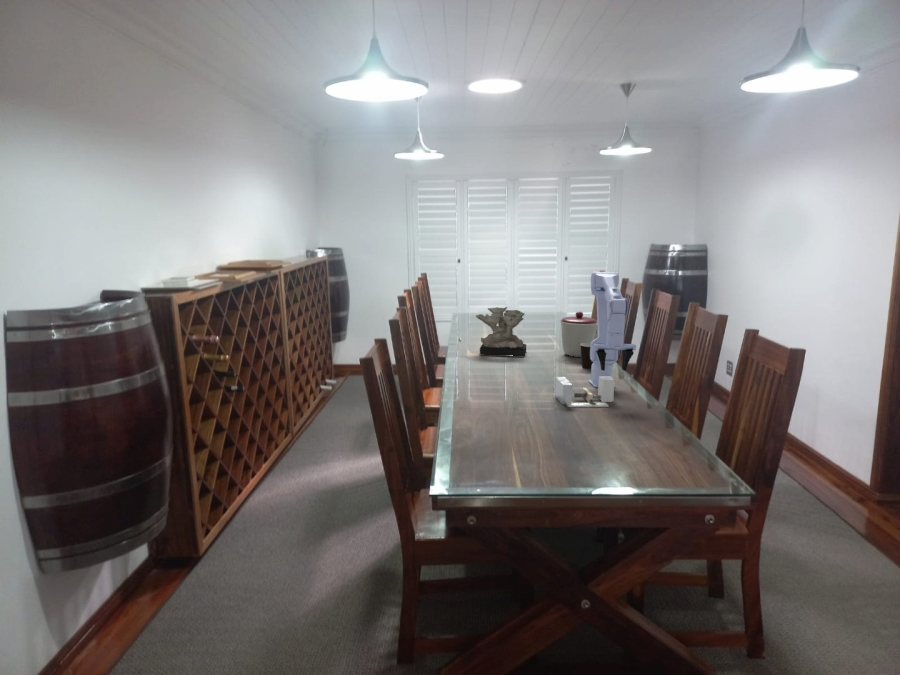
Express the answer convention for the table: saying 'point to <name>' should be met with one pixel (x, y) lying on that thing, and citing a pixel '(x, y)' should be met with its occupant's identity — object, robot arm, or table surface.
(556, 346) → the table surface
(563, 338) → the canister
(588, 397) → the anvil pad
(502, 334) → the coral
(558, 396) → the frame
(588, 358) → the coffee mug
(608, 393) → the block
